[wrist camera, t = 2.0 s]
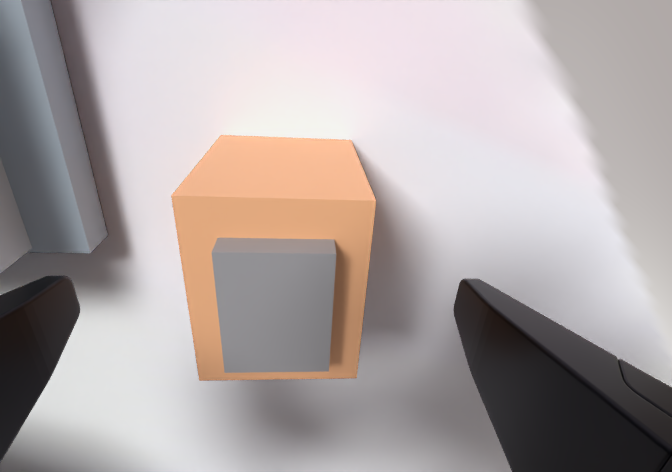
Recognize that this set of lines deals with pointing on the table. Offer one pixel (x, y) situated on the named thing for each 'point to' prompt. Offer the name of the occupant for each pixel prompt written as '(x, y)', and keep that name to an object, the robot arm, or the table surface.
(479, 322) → the robot arm
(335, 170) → the orange box grey panel
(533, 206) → the table surface
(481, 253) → the table surface
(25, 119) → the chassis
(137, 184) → the table surface
